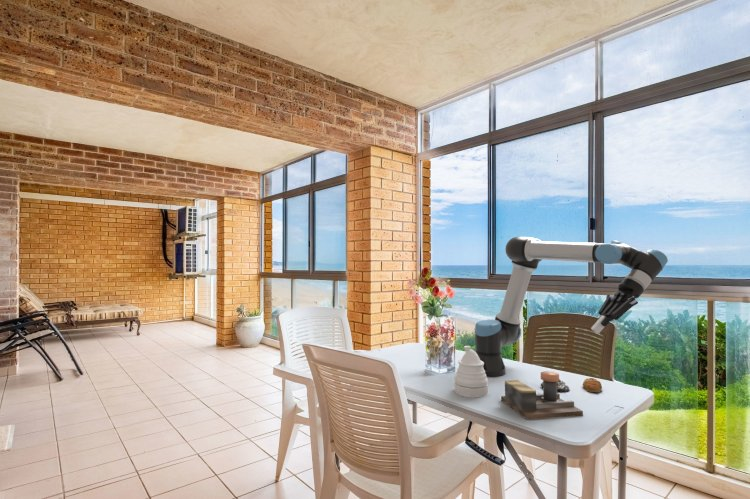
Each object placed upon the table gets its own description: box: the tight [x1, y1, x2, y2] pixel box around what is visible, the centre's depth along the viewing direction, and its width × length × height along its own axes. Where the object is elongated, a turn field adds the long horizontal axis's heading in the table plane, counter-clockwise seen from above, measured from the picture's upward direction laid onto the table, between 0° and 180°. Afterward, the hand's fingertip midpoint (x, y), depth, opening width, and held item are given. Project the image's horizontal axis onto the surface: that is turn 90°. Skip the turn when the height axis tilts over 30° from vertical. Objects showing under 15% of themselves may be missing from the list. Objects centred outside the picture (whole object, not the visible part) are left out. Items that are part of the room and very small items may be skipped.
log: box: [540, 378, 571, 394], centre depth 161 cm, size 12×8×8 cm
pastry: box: [582, 377, 603, 393], centre depth 158 cm, size 9×7×4 cm
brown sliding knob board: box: [500, 379, 584, 421], centre depth 139 cm, size 18×20×8 cm
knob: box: [540, 370, 560, 402], centre depth 140 cm, size 6×6×10 cm
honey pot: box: [454, 345, 489, 398], centre depth 156 cm, size 13×13×18 cm
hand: (594, 331), depth 143 cm, fingers closed
